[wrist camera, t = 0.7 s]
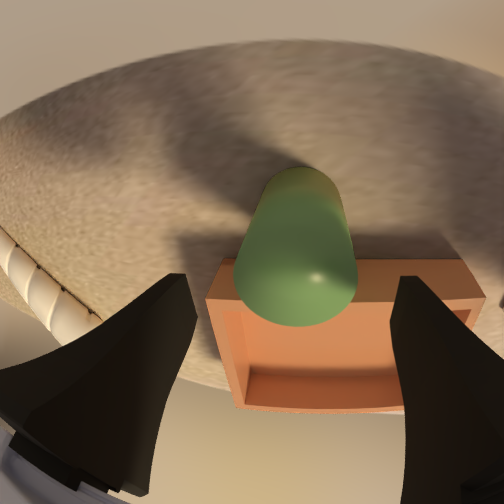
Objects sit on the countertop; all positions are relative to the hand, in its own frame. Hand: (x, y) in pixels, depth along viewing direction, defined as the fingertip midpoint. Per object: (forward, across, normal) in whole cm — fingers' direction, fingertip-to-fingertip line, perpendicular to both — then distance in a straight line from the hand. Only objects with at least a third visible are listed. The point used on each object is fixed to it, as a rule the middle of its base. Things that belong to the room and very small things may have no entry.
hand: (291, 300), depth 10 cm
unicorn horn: (+9, +27, +4) cm, 29 cm away
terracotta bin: (+8, -3, +10) cm, 13 cm away
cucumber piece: (+8, 0, 0) cm, 8 cm away
